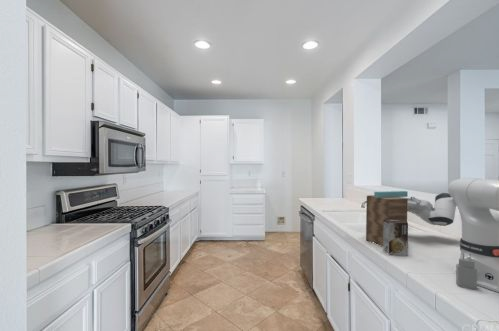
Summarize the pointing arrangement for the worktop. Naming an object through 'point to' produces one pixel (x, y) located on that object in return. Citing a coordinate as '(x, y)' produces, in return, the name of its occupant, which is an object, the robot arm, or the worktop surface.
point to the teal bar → (390, 194)
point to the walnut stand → (383, 215)
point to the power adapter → (466, 273)
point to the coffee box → (395, 237)
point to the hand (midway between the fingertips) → (404, 196)
